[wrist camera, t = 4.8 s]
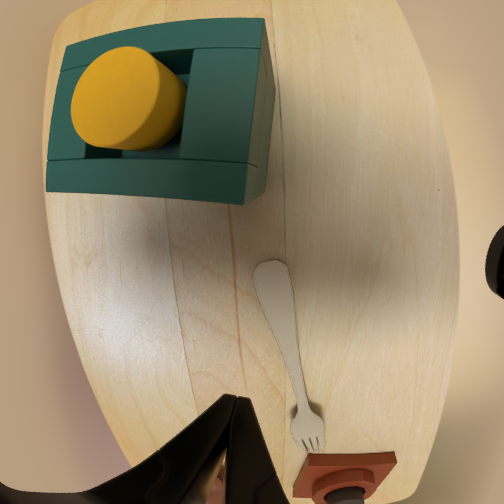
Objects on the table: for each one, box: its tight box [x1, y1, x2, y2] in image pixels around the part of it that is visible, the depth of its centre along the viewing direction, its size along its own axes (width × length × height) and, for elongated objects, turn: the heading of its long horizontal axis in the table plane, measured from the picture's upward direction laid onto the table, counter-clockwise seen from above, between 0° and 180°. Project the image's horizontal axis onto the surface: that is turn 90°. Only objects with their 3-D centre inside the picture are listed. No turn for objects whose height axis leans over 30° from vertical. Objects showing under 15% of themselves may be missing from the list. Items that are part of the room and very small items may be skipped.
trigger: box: [71, 46, 187, 152], centre depth 9 cm, size 4×4×3 cm
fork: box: [252, 260, 325, 454], centre depth 22 cm, size 3×21×3 cm, turn 15°
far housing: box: [293, 452, 397, 504], centre depth 23 cm, size 10×8×4 cm
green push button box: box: [46, 18, 275, 205], centre depth 14 cm, size 9×7×10 cm
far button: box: [326, 486, 364, 504], centre depth 21 cm, size 4×4×2 cm
